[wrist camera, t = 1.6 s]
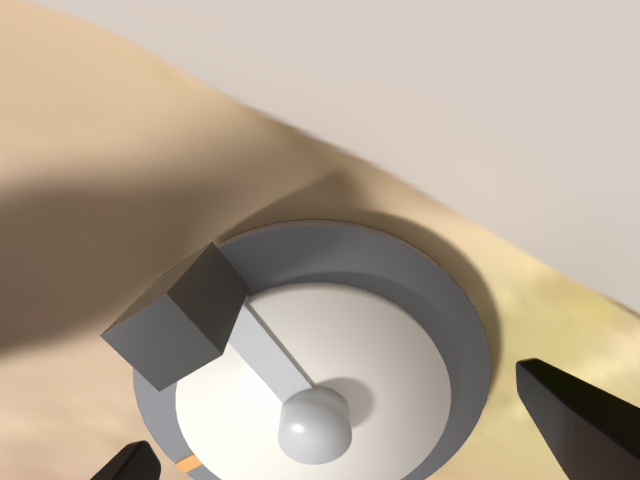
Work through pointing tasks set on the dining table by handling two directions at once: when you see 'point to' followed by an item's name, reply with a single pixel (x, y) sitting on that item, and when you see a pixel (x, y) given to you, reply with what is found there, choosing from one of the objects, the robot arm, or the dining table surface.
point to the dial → (287, 374)
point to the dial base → (362, 272)
